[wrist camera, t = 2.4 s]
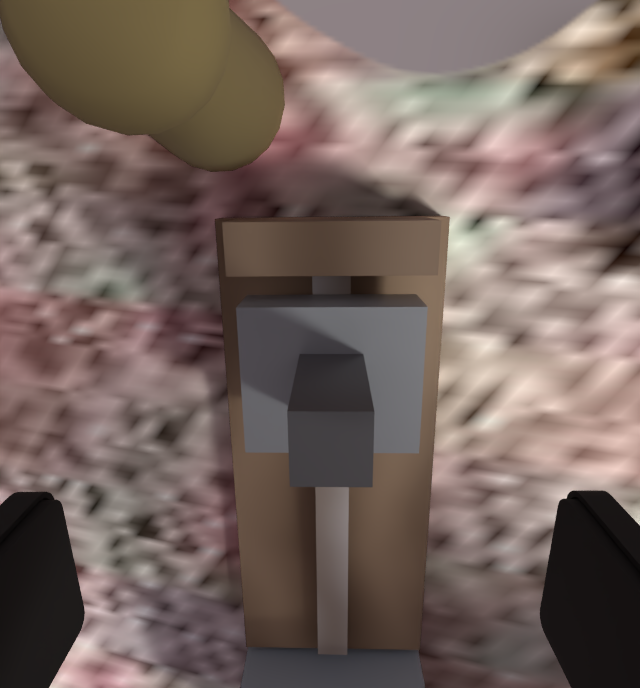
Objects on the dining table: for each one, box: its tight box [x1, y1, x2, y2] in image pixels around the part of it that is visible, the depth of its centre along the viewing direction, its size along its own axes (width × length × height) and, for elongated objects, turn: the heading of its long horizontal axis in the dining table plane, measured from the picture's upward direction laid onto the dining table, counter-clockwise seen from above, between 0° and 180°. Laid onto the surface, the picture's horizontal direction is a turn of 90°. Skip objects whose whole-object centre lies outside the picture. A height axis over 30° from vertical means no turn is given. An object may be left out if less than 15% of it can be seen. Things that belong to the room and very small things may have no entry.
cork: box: [0, 0, 285, 172], centre depth 15 cm, size 6×6×11 cm
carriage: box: [236, 294, 428, 487], centre depth 17 cm, size 7×6×8 cm
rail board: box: [215, 216, 450, 655], centre depth 23 cm, size 10×24×4 cm, turn 1°
